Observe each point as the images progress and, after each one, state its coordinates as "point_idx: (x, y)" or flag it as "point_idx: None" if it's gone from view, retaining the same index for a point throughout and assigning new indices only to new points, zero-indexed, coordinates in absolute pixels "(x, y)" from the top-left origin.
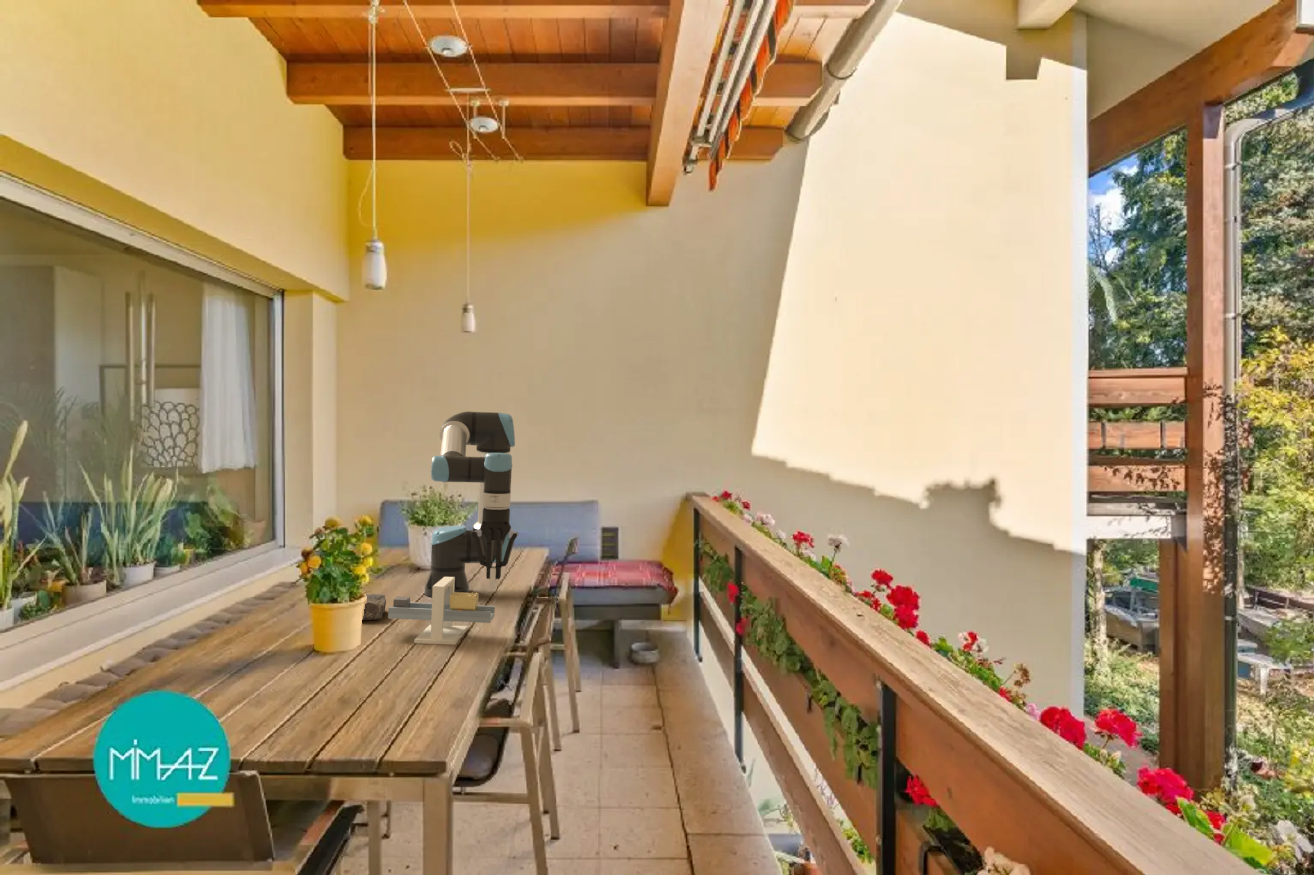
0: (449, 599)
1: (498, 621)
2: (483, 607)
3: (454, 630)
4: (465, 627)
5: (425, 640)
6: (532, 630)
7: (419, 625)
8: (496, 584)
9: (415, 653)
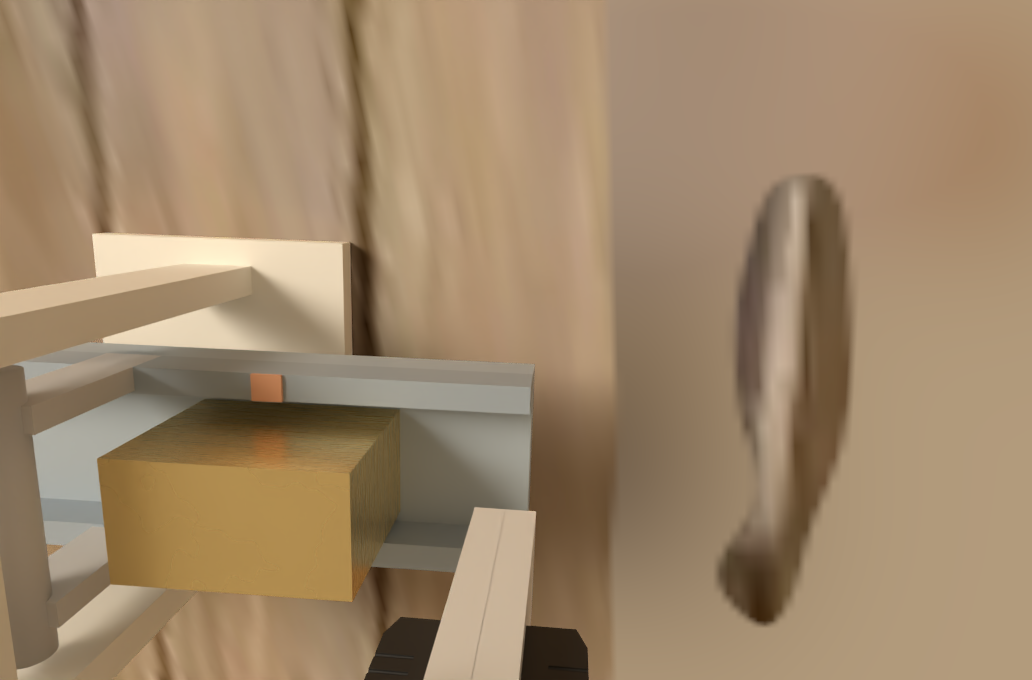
0: (104, 388)
1: (526, 15)
2: (435, 407)
3: (286, 350)
4: (337, 279)
5: None
6: (802, 231)
7: (25, 175)
8: (532, 559)
9: (202, 670)
